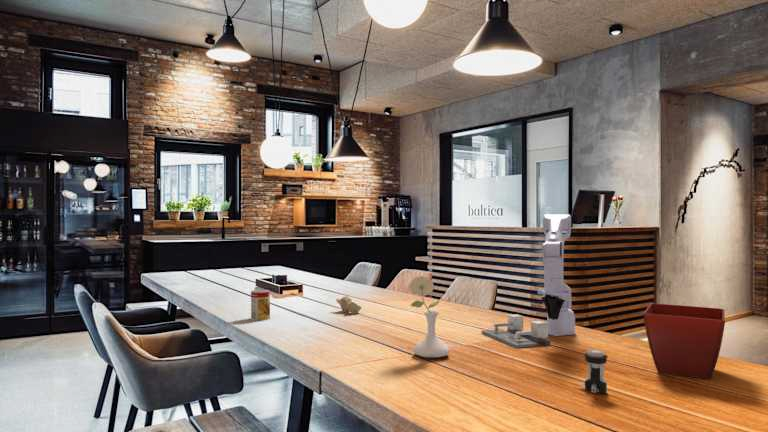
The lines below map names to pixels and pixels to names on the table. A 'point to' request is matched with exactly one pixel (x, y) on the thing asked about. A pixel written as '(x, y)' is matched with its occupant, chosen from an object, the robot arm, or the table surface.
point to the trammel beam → (539, 340)
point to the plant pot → (684, 338)
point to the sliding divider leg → (536, 330)
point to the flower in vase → (431, 343)
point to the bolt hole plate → (509, 338)
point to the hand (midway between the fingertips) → (553, 318)
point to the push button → (595, 372)
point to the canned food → (260, 305)
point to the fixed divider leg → (512, 323)
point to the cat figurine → (348, 305)
